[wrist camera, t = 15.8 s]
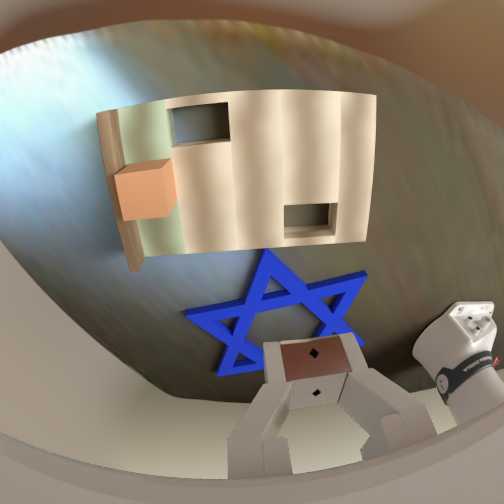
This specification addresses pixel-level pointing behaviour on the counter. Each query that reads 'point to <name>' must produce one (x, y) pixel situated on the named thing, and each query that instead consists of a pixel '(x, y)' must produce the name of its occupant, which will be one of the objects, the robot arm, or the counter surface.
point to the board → (248, 170)
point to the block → (146, 189)
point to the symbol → (261, 302)
